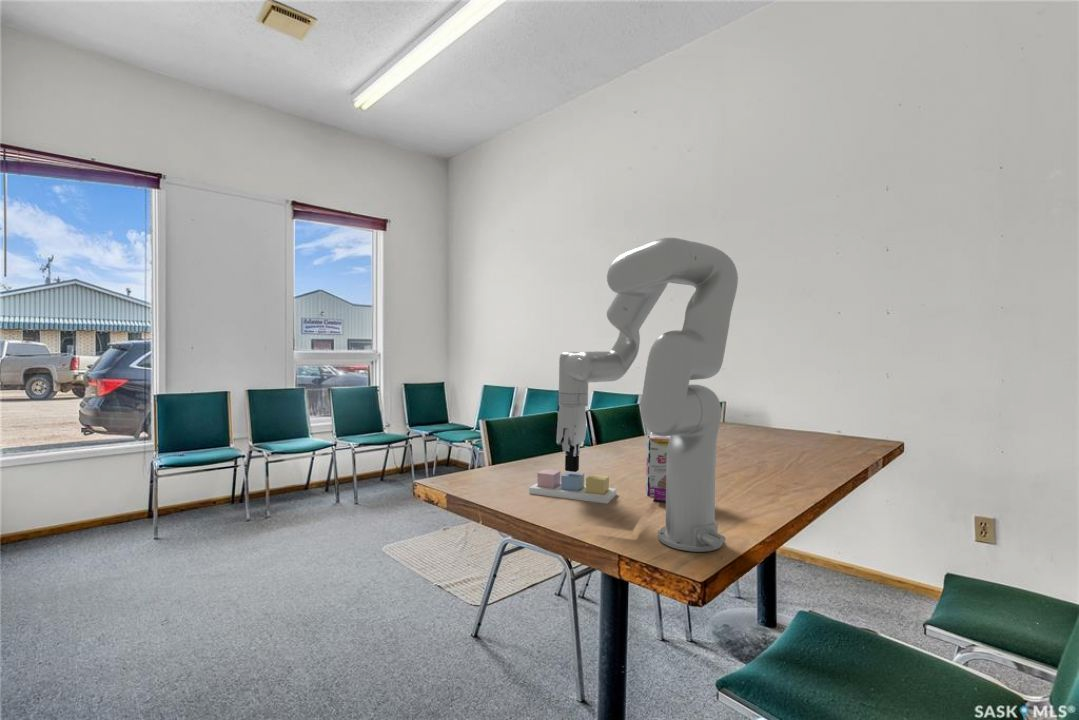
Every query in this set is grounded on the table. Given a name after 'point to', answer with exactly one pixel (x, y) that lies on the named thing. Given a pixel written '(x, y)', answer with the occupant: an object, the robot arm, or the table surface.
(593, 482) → the yellow cube
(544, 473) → the rose block
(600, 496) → the white rectangular tray
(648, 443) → the candy bar box
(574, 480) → the slate blue block
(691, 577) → the table surface
